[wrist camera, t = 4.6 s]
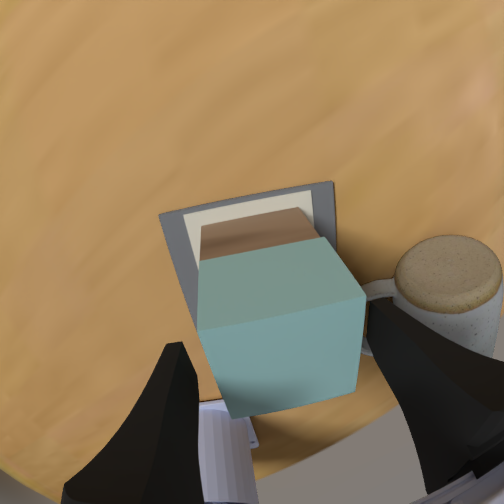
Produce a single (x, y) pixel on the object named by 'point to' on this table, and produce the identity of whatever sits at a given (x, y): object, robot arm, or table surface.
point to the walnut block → (255, 233)
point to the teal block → (280, 326)
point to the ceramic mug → (448, 290)
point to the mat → (192, 218)
